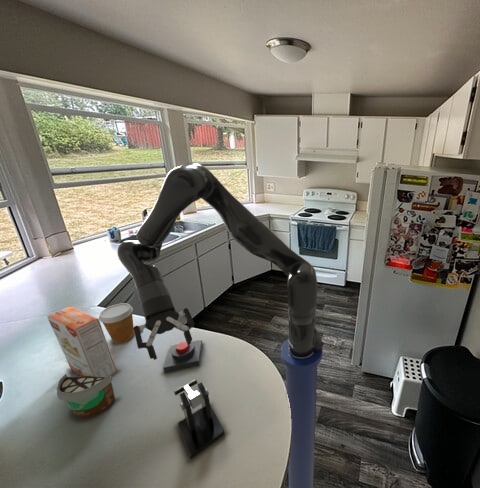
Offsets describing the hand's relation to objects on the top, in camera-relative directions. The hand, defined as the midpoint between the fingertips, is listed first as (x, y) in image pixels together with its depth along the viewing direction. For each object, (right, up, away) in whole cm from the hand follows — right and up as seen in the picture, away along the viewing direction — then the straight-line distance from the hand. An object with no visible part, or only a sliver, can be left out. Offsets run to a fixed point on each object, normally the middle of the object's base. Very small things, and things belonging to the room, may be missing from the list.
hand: (173, 351), depth 71 cm
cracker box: (-30, -10, +8) cm, 32 cm away
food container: (-20, -15, -4) cm, 25 cm away
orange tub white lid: (-32, -4, +22) cm, 39 cm away
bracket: (+12, -17, -7) cm, 22 cm away
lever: (+9, -9, -7) cm, 15 cm away
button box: (-5, -8, +14) cm, 17 cm away
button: (-5, -5, +13) cm, 15 cm away
